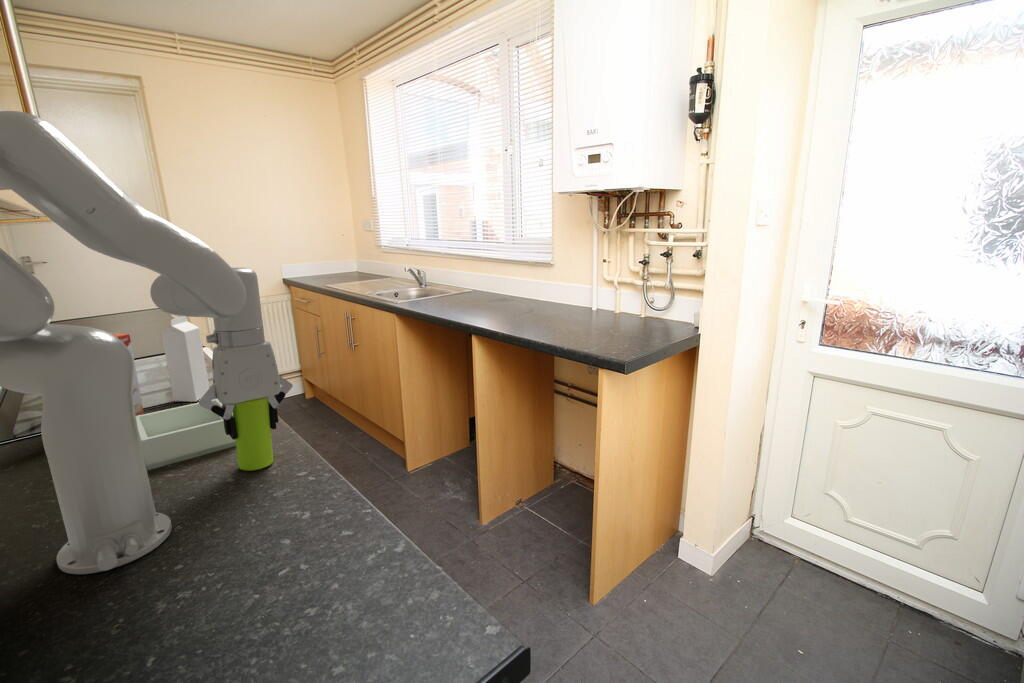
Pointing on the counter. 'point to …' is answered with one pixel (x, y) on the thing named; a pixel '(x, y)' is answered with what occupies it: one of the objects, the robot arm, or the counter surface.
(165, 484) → the counter surface
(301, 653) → the counter surface
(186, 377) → the milk
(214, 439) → the tub
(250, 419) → the soap dispenser
